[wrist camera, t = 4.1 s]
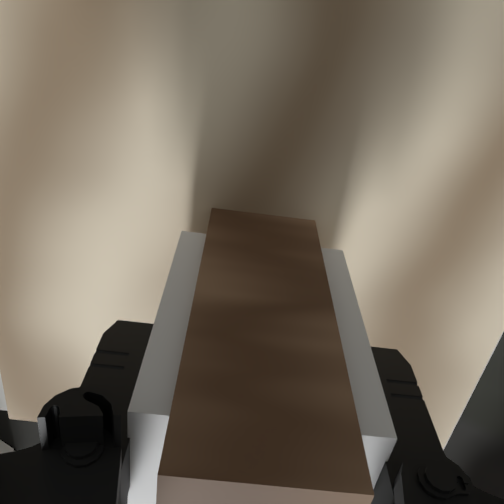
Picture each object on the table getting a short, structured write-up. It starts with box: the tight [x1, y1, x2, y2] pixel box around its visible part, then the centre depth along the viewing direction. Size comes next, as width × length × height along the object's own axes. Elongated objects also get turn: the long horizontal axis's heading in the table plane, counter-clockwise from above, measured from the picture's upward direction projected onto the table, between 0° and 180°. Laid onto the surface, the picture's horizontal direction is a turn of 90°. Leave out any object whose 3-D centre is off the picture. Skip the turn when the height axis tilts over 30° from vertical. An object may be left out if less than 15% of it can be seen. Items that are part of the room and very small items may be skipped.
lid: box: [0, 0, 504, 504], centre depth 12 cm, size 18×18×10 cm
